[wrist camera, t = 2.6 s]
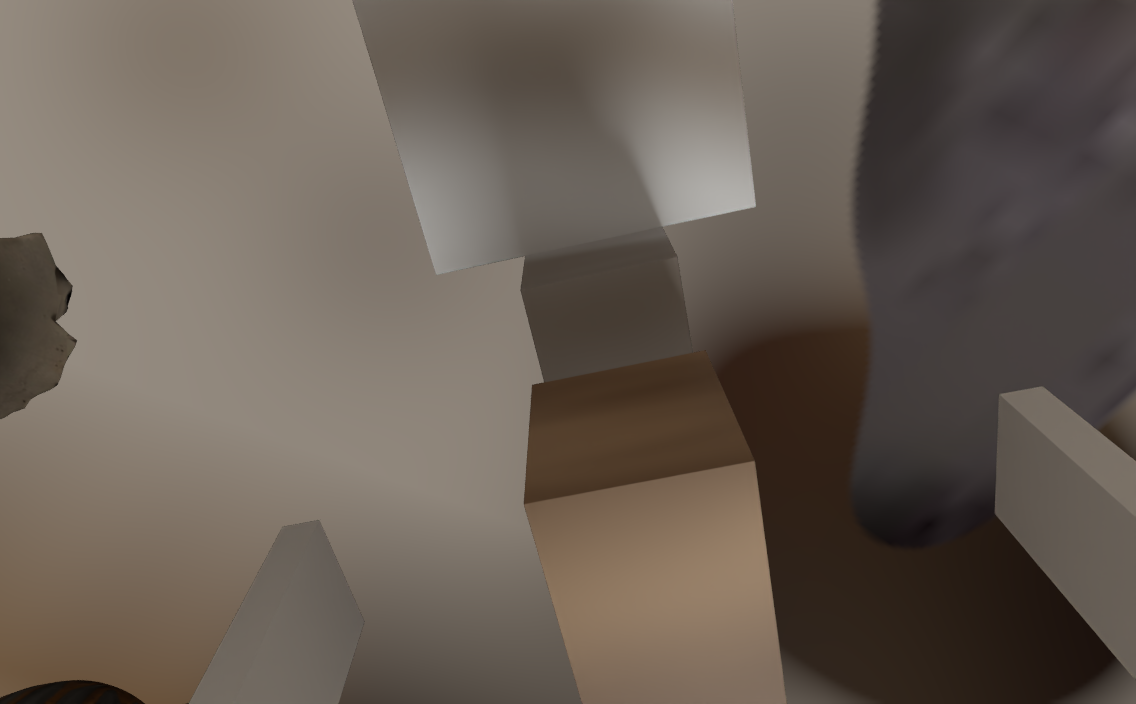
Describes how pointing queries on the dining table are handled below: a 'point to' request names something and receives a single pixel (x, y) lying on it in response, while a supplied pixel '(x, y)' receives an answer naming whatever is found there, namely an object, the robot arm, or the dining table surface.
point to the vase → (71, 694)
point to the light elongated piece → (603, 310)
